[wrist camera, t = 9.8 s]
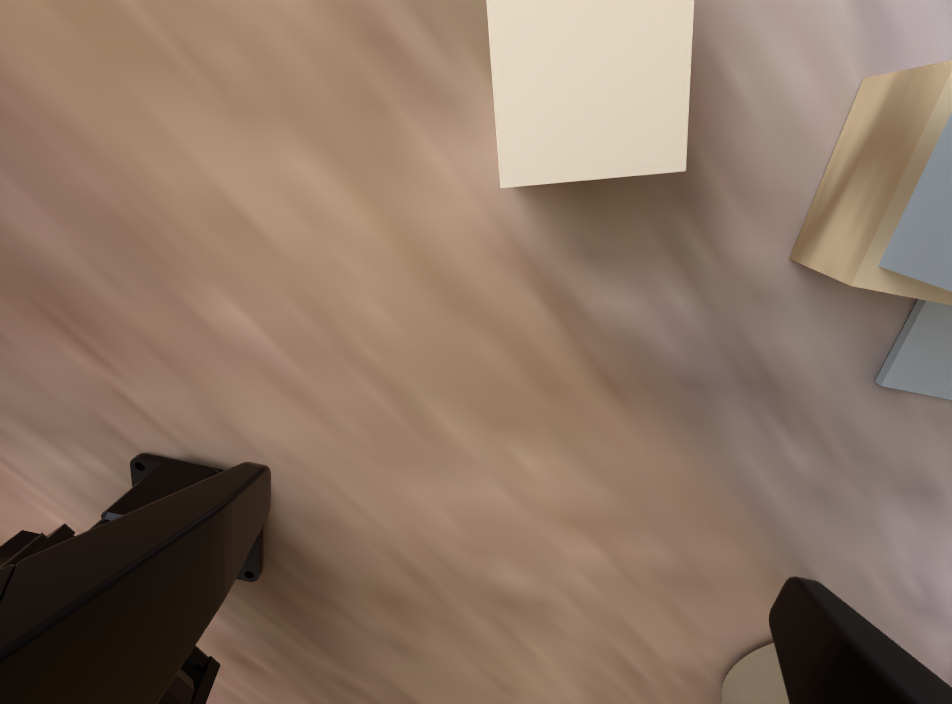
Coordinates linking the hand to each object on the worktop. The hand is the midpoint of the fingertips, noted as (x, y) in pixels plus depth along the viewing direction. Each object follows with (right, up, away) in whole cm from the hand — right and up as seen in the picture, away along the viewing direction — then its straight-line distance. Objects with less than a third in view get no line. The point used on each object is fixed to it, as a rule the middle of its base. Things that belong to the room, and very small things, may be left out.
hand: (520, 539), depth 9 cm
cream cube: (+3, +12, +9) cm, 15 cm away
